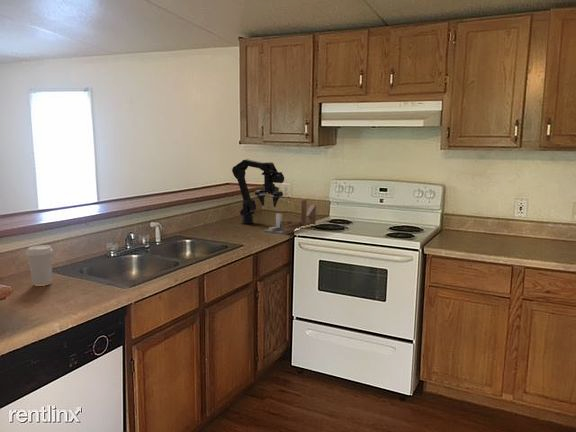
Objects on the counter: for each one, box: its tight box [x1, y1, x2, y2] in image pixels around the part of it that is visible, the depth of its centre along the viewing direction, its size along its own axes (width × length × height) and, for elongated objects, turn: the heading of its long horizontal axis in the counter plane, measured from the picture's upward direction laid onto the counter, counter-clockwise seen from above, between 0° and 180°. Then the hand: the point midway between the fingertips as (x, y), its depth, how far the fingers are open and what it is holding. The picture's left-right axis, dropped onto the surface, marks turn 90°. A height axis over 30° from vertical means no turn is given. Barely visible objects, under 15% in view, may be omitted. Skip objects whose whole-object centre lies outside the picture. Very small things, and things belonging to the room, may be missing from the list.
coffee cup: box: [25, 244, 54, 284], centre depth 189 cm, size 10×10×15 cm
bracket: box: [267, 212, 283, 232], centre depth 294 cm, size 4×8×10 cm, turn 131°
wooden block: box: [300, 199, 317, 226], centre depth 307 cm, size 4×11×18 cm, turn 131°
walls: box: [282, 219, 301, 233], centre depth 298 cm, size 16×18×4 cm
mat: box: [263, 226, 295, 235], centre depth 298 cm, size 16×18×1 cm
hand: (268, 206), depth 309 cm, fingers open, 9 cm apart
